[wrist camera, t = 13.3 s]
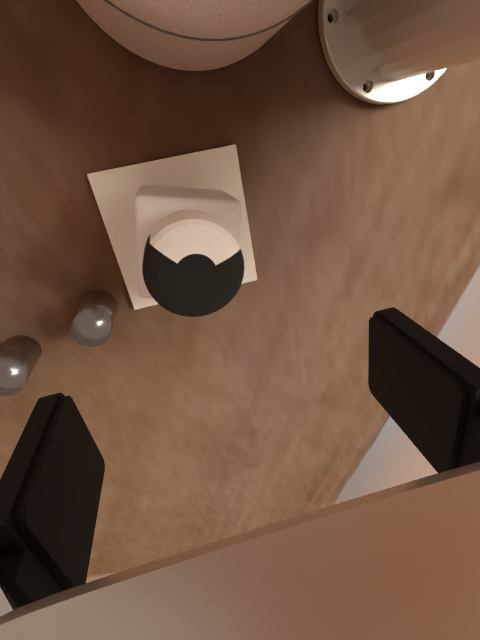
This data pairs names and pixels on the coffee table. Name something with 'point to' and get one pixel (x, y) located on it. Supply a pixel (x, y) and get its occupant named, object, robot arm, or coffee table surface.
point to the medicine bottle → (188, 248)
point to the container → (192, 28)
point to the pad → (178, 171)
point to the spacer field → (87, 329)
